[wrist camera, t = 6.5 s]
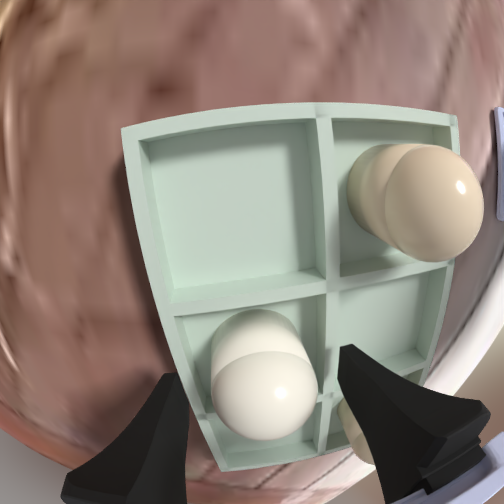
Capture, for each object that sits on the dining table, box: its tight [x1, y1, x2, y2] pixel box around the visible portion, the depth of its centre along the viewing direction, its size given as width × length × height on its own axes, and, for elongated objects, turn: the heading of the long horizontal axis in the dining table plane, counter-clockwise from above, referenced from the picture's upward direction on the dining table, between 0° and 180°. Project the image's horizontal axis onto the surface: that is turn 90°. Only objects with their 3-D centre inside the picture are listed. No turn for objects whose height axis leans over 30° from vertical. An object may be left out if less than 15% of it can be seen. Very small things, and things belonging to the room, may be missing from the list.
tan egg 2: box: [347, 144, 484, 262], centre depth 9 cm, size 4×4×5 cm
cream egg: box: [211, 309, 318, 441], centre depth 11 cm, size 4×4×5 cm
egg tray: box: [121, 103, 460, 472], centre depth 14 cm, size 15×22×2 cm
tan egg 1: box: [337, 398, 375, 465], centre depth 14 cm, size 4×4×5 cm
